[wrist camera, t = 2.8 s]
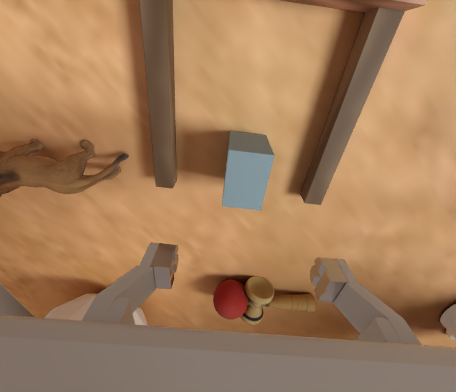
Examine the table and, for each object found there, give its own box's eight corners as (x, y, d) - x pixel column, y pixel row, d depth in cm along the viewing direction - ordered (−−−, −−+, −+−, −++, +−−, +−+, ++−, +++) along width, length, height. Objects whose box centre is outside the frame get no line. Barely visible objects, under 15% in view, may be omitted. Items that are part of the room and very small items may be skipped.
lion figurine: (29, 179, 27) (-51, 225, 20) (1, 139, 24) (-105, 174, 17) (137, 171, 26) (97, 216, 18) (122, 128, 23) (67, 160, 16)
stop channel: (409, -36, 16) (456, -62, 12) (315, 196, 27) (326, 214, 24) (142, -78, 15) (116, -118, 12) (160, 178, 26) (150, 195, 23)
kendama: (315, 273, 38) (217, 270, 34) (330, 312, 33) (218, 312, 30) (296, 290, 43) (209, 289, 39) (307, 325, 39) (210, 327, 35)
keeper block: (265, 135, 23) (274, 155, 18) (255, 182, 26) (260, 210, 21) (230, 130, 23) (228, 149, 18) (224, 178, 26) (221, 206, 21)
